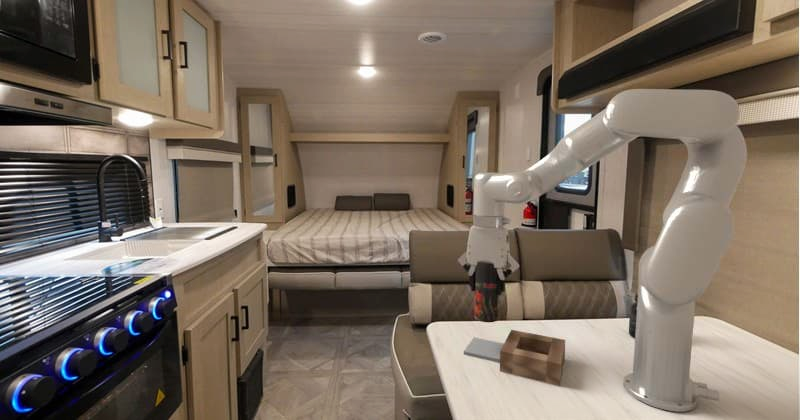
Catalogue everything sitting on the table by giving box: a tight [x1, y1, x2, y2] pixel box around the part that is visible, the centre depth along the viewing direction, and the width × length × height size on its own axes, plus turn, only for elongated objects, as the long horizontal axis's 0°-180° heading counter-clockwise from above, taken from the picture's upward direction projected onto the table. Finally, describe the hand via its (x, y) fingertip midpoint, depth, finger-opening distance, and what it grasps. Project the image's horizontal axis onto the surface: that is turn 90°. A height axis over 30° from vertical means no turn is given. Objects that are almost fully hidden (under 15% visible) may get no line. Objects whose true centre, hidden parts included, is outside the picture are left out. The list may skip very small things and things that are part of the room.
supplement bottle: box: [628, 292, 638, 339], centre depth 104 cm, size 7×7×12 cm
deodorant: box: [474, 262, 500, 323], centre depth 95 cm, size 6×6×15 cm
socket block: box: [499, 329, 566, 387], centre depth 89 cm, size 13×13×5 cm
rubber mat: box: [463, 336, 505, 363], centre depth 97 cm, size 9×9×1 cm
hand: (486, 291), depth 95 cm, fingers closed on deodorant, 6 cm apart
